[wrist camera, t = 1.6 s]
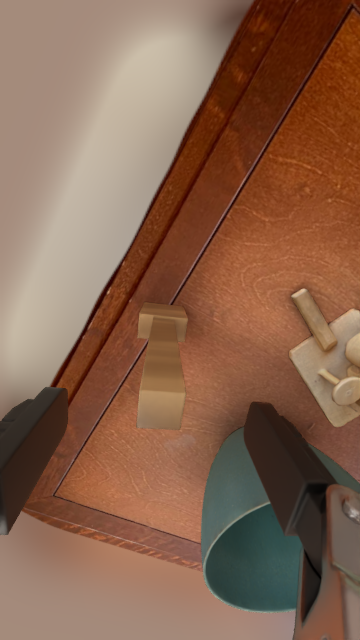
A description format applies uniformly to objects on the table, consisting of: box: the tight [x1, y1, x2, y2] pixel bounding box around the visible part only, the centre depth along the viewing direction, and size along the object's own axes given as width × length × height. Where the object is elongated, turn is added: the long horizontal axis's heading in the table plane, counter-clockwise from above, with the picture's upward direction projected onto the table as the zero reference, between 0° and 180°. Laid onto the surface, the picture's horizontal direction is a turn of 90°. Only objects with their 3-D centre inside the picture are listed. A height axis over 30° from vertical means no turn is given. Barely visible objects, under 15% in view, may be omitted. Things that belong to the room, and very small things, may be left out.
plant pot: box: [201, 427, 360, 613], centre depth 26 cm, size 18×18×12 cm
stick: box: [136, 302, 188, 430], centre depth 17 cm, size 2×4×16 cm, turn 82°
